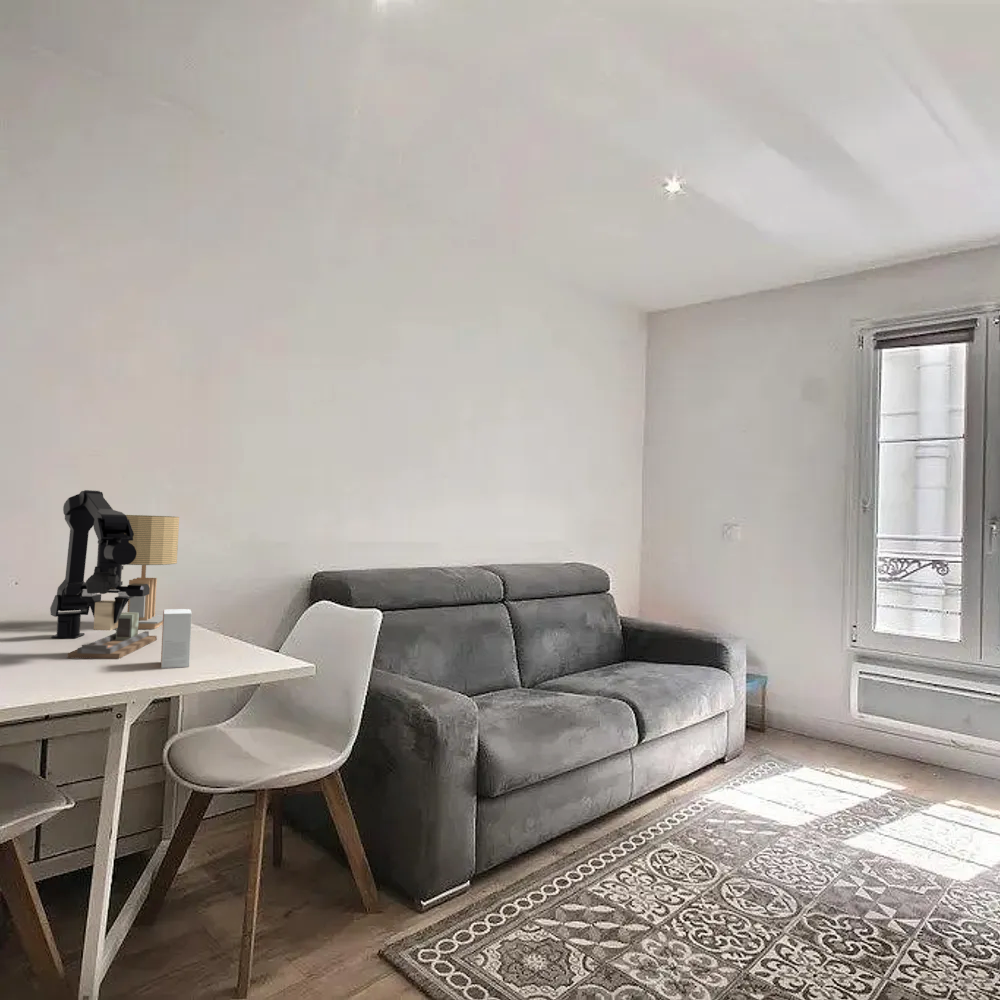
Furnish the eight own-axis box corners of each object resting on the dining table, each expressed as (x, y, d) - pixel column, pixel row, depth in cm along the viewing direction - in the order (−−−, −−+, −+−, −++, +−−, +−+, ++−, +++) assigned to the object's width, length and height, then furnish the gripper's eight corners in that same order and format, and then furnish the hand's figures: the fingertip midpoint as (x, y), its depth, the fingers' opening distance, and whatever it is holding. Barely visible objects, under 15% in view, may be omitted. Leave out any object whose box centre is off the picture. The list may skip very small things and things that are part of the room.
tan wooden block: (102, 626, 189) (103, 600, 190) (118, 627, 190) (119, 600, 190) (93, 630, 184) (95, 602, 184) (110, 630, 185) (111, 602, 185)
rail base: (112, 639, 207) (113, 610, 207) (156, 639, 208) (157, 611, 209) (67, 658, 179) (69, 624, 179) (119, 658, 181) (120, 625, 181)
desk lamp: (166, 630, 225) (172, 517, 226) (97, 630, 221) (103, 514, 222) (180, 621, 244) (185, 516, 245) (116, 621, 240) (122, 514, 241)
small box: (160, 661, 179) (163, 609, 179) (188, 660, 182) (191, 608, 182) (160, 668, 172) (163, 613, 172) (189, 667, 174) (192, 612, 175)
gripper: (56, 563, 178) (52, 626, 178) (136, 565, 181) (133, 628, 180) (76, 560, 189) (72, 620, 189) (151, 562, 192) (148, 621, 191)
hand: (106, 622), depth 187 cm, fingers closed on tan wooden block, 4 cm apart
